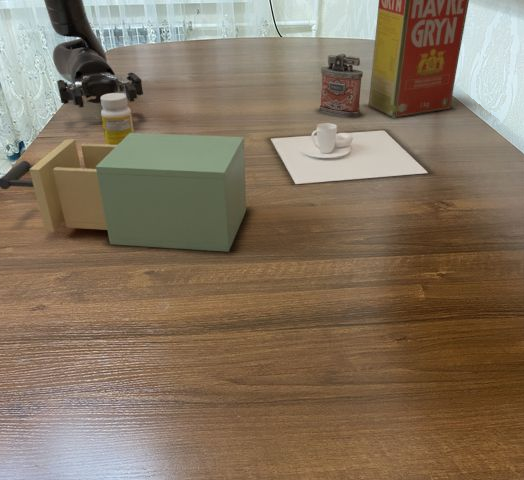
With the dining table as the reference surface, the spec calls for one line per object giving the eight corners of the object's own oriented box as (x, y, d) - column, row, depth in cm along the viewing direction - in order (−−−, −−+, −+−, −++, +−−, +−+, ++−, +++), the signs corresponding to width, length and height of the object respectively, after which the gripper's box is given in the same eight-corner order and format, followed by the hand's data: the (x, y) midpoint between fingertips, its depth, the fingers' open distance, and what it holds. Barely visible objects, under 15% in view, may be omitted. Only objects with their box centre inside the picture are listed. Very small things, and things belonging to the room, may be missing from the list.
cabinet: (109, 244, 73) (95, 166, 67) (140, 204, 82) (129, 132, 76) (228, 251, 71) (224, 172, 65) (246, 210, 80) (243, 137, 74)
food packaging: (393, 119, 110) (412, -45, 95) (366, 105, 117) (379, -50, 102) (453, 109, 114) (480, -50, 99) (423, 96, 121) (444, -54, 106)
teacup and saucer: (347, 141, 101) (349, 116, 98) (361, 158, 94) (364, 131, 92) (295, 145, 100) (296, 120, 97) (306, 162, 93) (307, 136, 91)
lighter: (315, 111, 114) (318, 54, 108) (325, 107, 116) (327, 50, 110) (354, 118, 111) (358, 59, 104) (362, 114, 113) (367, 55, 107)
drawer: (0, 228, 75) (-19, 166, 70) (37, 194, 83) (23, 137, 78) (151, 237, 72) (142, 174, 68) (174, 201, 80) (168, 143, 76)
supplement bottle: (114, 144, 101) (105, 91, 96) (140, 145, 101) (133, 92, 96) (102, 154, 98) (92, 99, 93) (130, 156, 97) (121, 101, 92)
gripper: (48, 58, 110) (58, 78, 98) (126, 51, 114) (145, 69, 102) (57, 101, 114) (68, 126, 102) (132, 93, 118) (151, 116, 106)
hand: (106, 98), depth 102 cm, fingers open, 8 cm apart
